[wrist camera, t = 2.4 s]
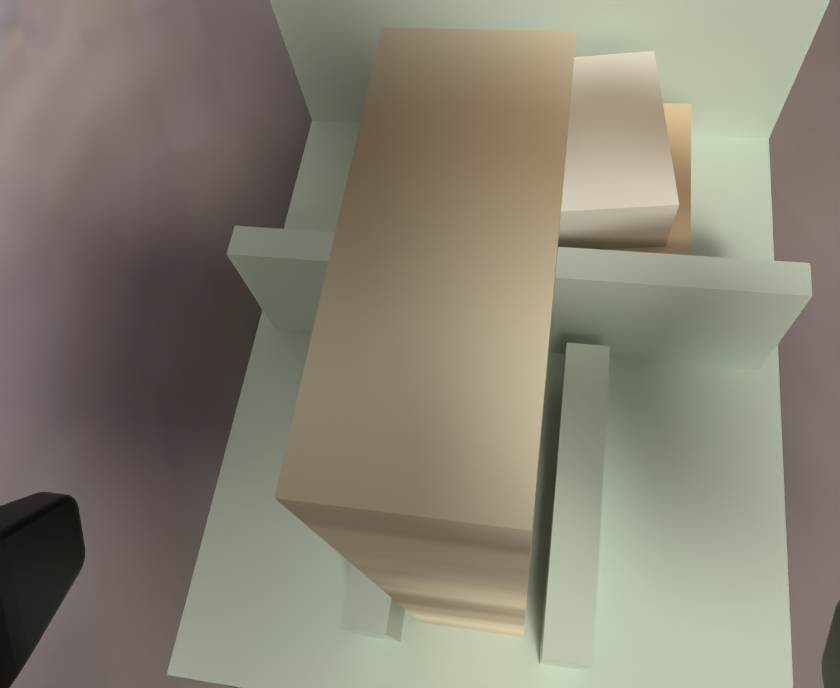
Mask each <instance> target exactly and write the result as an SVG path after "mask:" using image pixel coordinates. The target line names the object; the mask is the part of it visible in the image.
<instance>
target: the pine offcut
mask: <svg viewBox="0 0 840 688" xmlns="http://www.w3.org/2000/svg"><path fill="white" fill-rule="evenodd" d="M663 107H664V113H665V119H666V126H667V132H668V138H669V144H670V150H671V157H672V163H673V169H674V175H675V182H676V188H677V194H678V200H679V207H678V210H677V213H676V216H675V219H674V222H673V225H672V229H671V232H670V235H669V238H668V241H667V244H666V246H664V247H644V248H625V249H606V250H616V251H631V252H646V253H662V254H677V255H690V250H691V104H682V103H663Z"/></svg>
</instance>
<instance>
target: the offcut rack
mask: <svg viewBox="0 0 840 688" xmlns="http://www.w3.org/2000/svg"><path fill="white" fill-rule="evenodd" d="M829 1H830V0H270V3H271V6H272V8H273V11H274V14H275V17H276V20H277V23H278V25H279V28H280V31H281V34H282V37H283V40H284V42H285V45H286V48H287V51H288V54H289V57H290V59H291V62H292V65H293V68H294V71H295V74H296V76H297V79H298V82H299V85H300V88H301V91H302V93H303V96H304V99H305V102H306V105H307V108H308V110H309V113H310V116H311V119H312V122H311V126H310V130H309V134H308V138H307V142H306V145H305V149H304V153H303V157H302V161H301V164H300V168H299V172H298V176H297V180H296V183H295V187H294V191H293V195H292V199H291V203H290V206H289V210H288V214H287V218H286V222H285V225H284V229H278V228H263V227H247V226H235V227H234V230H233V233H232V237H231V240H230V244H229V247H228V250H227V256H228V257H229V259H230V260H231V262H232V263H233V265H234V267H235V268H236V270H237V271H238V273H239V274H240V276H241V277H242V279H243V280H244V282H245V284H246V285H247V287H248V288H249V290H250V291H251V293H252V294H253V296H254V297H255V299H256V301H257V302H258V304H259V305H260V307H261V308H262V313H261V317H260V321H259V325H258V328H257V332H256V336H255V340H254V344H253V348H252V351H251V355H250V359H249V363H248V367H247V370H246V374H245V378H244V382H243V386H242V390H241V393H240V397H239V401H238V405H237V409H236V412H235V416H234V420H233V424H232V428H231V432H230V435H229V439H228V443H227V447H226V451H225V454H224V458H223V462H222V466H221V470H220V473H219V477H218V481H217V485H216V489H215V493H214V496H213V500H212V504H211V508H210V512H209V515H208V519H207V523H206V527H205V531H204V535H203V538H202V542H201V546H200V550H199V554H198V557H197V561H196V565H195V569H194V573H193V576H192V580H191V584H190V588H189V592H188V596H187V599H186V603H185V607H184V611H183V615H182V618H181V622H180V626H179V630H178V634H177V638H176V641H175V645H174V649H173V653H172V657H171V660H170V664H169V668H168V672H167V675H170V676H176V677H182V678H188V679H193V680H199V681H205V682H211V683H217V684H223V685H229V686H234V687H240V688H793V674H792V652H791V629H790V607H789V584H788V562H787V539H786V517H785V495H784V472H783V450H782V427H781V405H780V382H779V360H778V343H779V342H780V340H781V339H782V337H783V336H784V335H785V333H786V332H787V331H788V329H789V328H790V326H791V325H792V324H793V322H794V321H795V319H796V318H797V317H798V315H799V314H800V312H801V311H802V310H803V308H804V307H805V305H806V304H807V303H808V301H809V300H810V299H811V297H812V285H811V270H810V263H800V262H784V261H774V248H773V225H772V203H771V180H770V158H769V137H770V135H771V132H772V130H773V128H774V126H775V123H776V121H777V119H778V117H779V114H780V112H781V110H782V108H783V105H784V103H785V101H786V99H787V96H788V94H789V92H790V89H791V87H792V85H793V83H794V80H795V78H796V76H797V74H798V71H799V69H800V67H801V65H802V62H803V60H804V58H805V56H806V53H807V51H808V49H809V47H810V44H811V42H812V40H813V37H814V35H815V33H816V31H817V28H818V26H819V24H820V22H821V19H822V17H823V15H824V13H825V10H826V8H827V6H828V4H829ZM382 28H433V29H485V30H538V31H577V32H576V44H575V55H574V57H581V56H594V55H606V54H619V53H632V52H645V51H655V57H656V63H657V69H658V76H659V82H660V88H661V94H662V101H663V103H682V104H691V250H690V255H677V254H662V253H646V252H631V251H616V250H600V249H585V248H570V247H558V251H557V263H556V274H555V286H554V297H553V309H552V320H551V332H550V343H549V355H548V366H547V378H546V389H545V401H544V412H543V423H542V435H541V446H540V457H539V468H538V480H537V491H536V502H535V513H534V525H533V536H532V547H531V558H530V570H529V581H528V592H527V603H526V615H525V626H524V637H523V638H522V637H515V636H509V635H502V634H495V633H489V632H482V631H475V630H469V629H462V628H455V627H449V626H442V625H435V624H429V623H422V622H420V621H418V620H417V619H416V618H415V617H414V616H413V615H411V614H410V613H409V612H408V611H407V610H405V609H404V608H403V607H402V606H401V605H400V604H398V603H397V602H396V601H395V600H394V599H392V598H391V597H390V596H389V595H388V594H387V593H385V592H384V591H383V590H382V589H381V588H380V587H378V586H377V585H376V584H375V583H374V582H372V581H371V580H370V579H369V578H368V577H367V576H365V575H364V574H363V573H362V572H361V571H359V570H358V569H357V568H356V567H355V566H354V565H352V564H351V563H350V562H349V561H348V560H347V559H345V558H344V557H343V556H342V555H341V554H339V553H338V552H337V551H336V550H335V549H334V548H332V547H331V546H330V545H329V544H328V543H327V542H325V541H324V540H323V539H322V538H321V537H319V536H318V535H317V534H316V533H315V532H314V531H312V530H311V529H310V528H309V527H308V526H306V525H305V524H304V523H303V522H302V521H301V520H299V519H298V518H297V517H296V516H295V515H294V514H292V513H291V512H290V511H289V510H288V509H286V508H285V507H284V506H283V505H282V504H281V503H279V502H278V501H277V500H276V499H275V498H274V497H275V492H276V488H277V484H278V479H279V475H280V471H281V466H282V462H283V458H284V453H285V449H286V444H287V440H288V436H289V431H290V427H291V423H292V418H293V414H294V410H295V405H296V401H297V397H298V392H299V388H300V383H301V379H302V375H303V370H304V366H305V362H306V357H307V353H308V349H309V344H310V340H311V335H312V331H313V327H314V322H315V318H316V314H317V309H318V305H319V301H320V296H321V292H322V287H323V283H324V279H325V274H326V270H327V266H328V261H329V257H330V253H331V248H332V244H333V240H334V235H335V231H336V226H337V222H338V218H339V213H340V209H341V205H342V200H343V196H344V192H345V187H346V183H347V178H348V174H349V170H350V165H351V161H352V157H353V152H354V148H355V144H356V139H357V135H358V130H359V126H360V122H361V117H362V113H363V109H364V104H365V100H366V96H367V91H368V87H369V82H370V78H371V74H372V69H373V65H374V61H375V56H376V52H377V48H378V43H379V39H380V35H381V30H382Z"/></svg>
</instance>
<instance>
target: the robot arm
mask: <svg viewBox="0 0 840 688" xmlns="http://www.w3.org/2000/svg"><path fill="white" fill-rule="evenodd" d="M84 559H85V545H84V539H83V532H82V526H81V520H80V514H79V507H78V504H77V502H76V500H75V499H74V498H73V497H72V496H70V495H65V494H58V493H50V492H39V493H36V494H33V495H30V496H27V497H25V498H22V499H19V500H16V501H13V502H10V503H7V504H5V505H2V506H0V688H10V686H11V685H12V683H13V682H14V681H15V679H16V678H17V676H18V675H19V673H20V671H21V670H22V668H23V667H24V665H25V664H26V662H27V660H28V659H29V657H30V656H31V654H32V652H33V650H34V649H35V647H36V645H37V644H38V642H39V640H40V639H41V637H42V635H43V633H44V632H45V630H46V628H47V627H48V625H49V623H50V622H51V620H52V618H53V617H54V615H55V613H56V611H57V610H58V608H59V606H60V605H61V603H62V601H63V600H64V598H65V596H66V595H67V593H68V591H69V589H70V588H71V586H72V584H73V583H74V581H75V579H76V578H77V576H78V574H79V573H80V570H81V568H82V566H83V563H84ZM822 680H823V685H824V688H840V600H839V602H838V604H837V605H836V608H835V611H834V614H833V618H832V622H831V626H830V630H829V633H828V637H827V641H826V645H825V648H824V652H823V657H822Z"/></svg>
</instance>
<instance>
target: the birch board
mask: <svg viewBox="0 0 840 688" xmlns="http://www.w3.org/2000/svg"><path fill="white" fill-rule="evenodd" d="M576 32H577V31H538V30H485V29H433V28H382V30H381V35H380V39H379V43H378V48H377V52H376V56H375V61H374V65H373V69H372V74H371V78H370V82H369V87H368V91H367V96H366V100H365V104H364V109H363V113H362V117H361V122H360V126H359V130H358V135H357V139H356V144H355V148H354V152H353V157H352V161H351V165H350V170H349V174H348V178H347V183H346V187H345V192H344V196H343V200H342V205H341V209H340V213H339V218H338V222H337V226H336V231H335V235H334V240H333V244H332V248H331V253H330V257H329V261H328V266H327V270H326V274H325V279H324V283H323V287H322V292H321V296H320V301H319V305H318V309H317V314H316V318H315V322H314V327H313V331H312V335H311V340H310V344H309V349H308V353H307V357H306V362H305V366H304V370H303V375H302V379H301V383H300V388H299V392H298V397H297V401H296V405H295V410H294V414H293V418H292V423H291V427H290V431H289V436H288V440H287V444H286V449H285V453H284V458H283V462H282V466H281V471H280V475H279V479H278V484H277V488H276V492H275V497H274V498H275V499H276V500H277V501H278V502H279V503H281V504H282V505H283V506H284V507H285V508H286V509H288V510H289V511H290V512H291V513H292V514H294V515H295V516H296V517H297V518H298V519H299V520H301V521H302V522H303V523H304V524H305V525H306V526H308V527H309V528H310V529H311V530H312V531H314V532H315V533H316V534H317V535H318V536H319V537H321V538H322V539H323V540H324V541H325V542H327V543H328V544H329V545H330V546H331V547H332V548H334V549H335V550H336V551H337V552H338V553H339V554H341V555H342V556H343V557H344V558H345V559H347V560H348V561H349V562H350V563H351V564H352V565H354V566H355V567H356V568H357V569H358V570H359V571H361V572H362V573H363V574H364V575H365V576H367V577H368V578H369V579H370V580H371V581H372V582H374V583H375V584H376V585H377V586H378V587H380V588H381V589H382V590H383V591H384V592H385V593H387V594H388V595H389V596H390V597H391V598H392V599H394V600H395V601H396V602H397V603H398V604H400V605H401V606H402V607H403V608H404V609H405V610H407V611H408V612H409V613H410V614H411V615H413V616H414V617H415V618H416V619H417V620H418V621H420V622H422V623H429V624H435V625H442V626H449V627H455V628H462V629H469V630H475V631H482V632H489V633H495V634H502V635H509V636H515V637H522V638H523V637H524V626H525V615H526V603H527V592H528V581H529V570H530V558H531V547H532V536H533V525H534V513H535V502H536V491H537V480H538V468H539V457H540V446H541V435H542V423H543V412H544V401H545V389H546V378H547V366H548V355H549V343H550V332H551V320H552V309H553V297H554V286H555V274H556V263H557V251H558V240H559V228H560V217H561V205H562V194H563V182H564V171H565V159H566V148H567V136H568V124H569V113H570V101H571V90H572V78H573V67H574V55H575V44H576Z"/></svg>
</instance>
